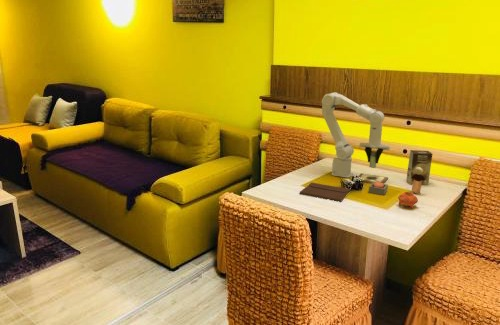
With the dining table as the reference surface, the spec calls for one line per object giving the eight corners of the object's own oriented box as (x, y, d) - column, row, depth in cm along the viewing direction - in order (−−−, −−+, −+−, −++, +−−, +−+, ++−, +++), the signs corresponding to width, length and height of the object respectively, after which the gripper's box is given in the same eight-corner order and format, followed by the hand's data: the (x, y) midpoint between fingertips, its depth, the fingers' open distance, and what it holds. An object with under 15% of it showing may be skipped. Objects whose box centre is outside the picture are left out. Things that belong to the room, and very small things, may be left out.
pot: (399, 200, 181) (404, 187, 178) (416, 208, 177) (422, 195, 174) (392, 205, 175) (398, 191, 172) (410, 213, 171) (416, 199, 168)
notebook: (340, 203, 180) (341, 198, 179) (299, 195, 189) (299, 191, 189) (350, 192, 192) (351, 188, 192) (311, 185, 202) (311, 182, 201)
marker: (368, 167, 206) (369, 152, 204) (369, 165, 209) (371, 150, 207) (375, 168, 205) (376, 152, 202) (376, 166, 208) (378, 151, 205)
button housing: (368, 192, 191) (369, 186, 190) (372, 188, 197) (372, 182, 196) (384, 195, 188) (384, 189, 187) (387, 190, 193) (387, 184, 193)
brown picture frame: (354, 181, 207) (354, 179, 207) (361, 174, 217) (361, 172, 217) (382, 185, 201) (383, 183, 200) (388, 178, 211) (388, 176, 210)
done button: (372, 189, 191) (372, 184, 190) (374, 186, 195) (375, 181, 194) (382, 190, 189) (382, 185, 188) (384, 188, 193) (384, 183, 192)
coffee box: (409, 184, 202) (413, 153, 198) (406, 180, 208) (409, 149, 204) (428, 185, 201) (432, 153, 197) (424, 180, 207) (428, 150, 203)
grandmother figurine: (407, 193, 190) (410, 167, 187) (408, 190, 194) (411, 164, 190) (424, 195, 187) (428, 169, 183) (425, 193, 190) (429, 167, 187)
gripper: (358, 136, 203) (356, 162, 206) (388, 139, 196) (385, 166, 199) (362, 133, 208) (360, 159, 212) (391, 136, 202) (389, 162, 205)
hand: (373, 162), depth 206 cm, fingers closed on marker, 3 cm apart
